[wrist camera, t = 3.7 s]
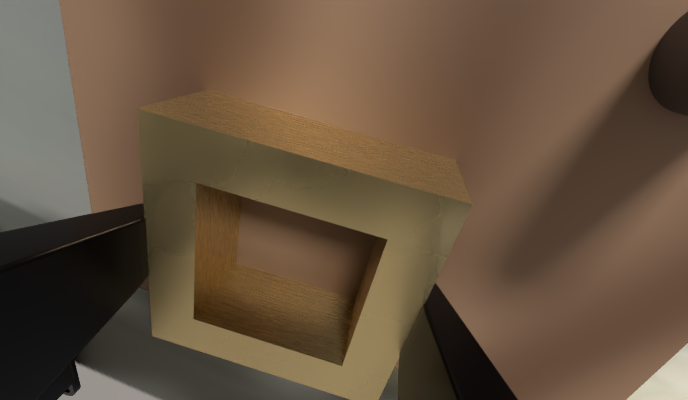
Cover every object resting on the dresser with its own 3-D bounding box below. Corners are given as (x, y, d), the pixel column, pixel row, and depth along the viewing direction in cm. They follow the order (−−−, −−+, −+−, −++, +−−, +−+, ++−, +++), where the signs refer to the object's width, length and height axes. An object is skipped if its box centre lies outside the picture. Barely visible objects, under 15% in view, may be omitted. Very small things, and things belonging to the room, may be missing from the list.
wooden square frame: (200, 279, 11) (151, 336, 9) (206, 90, 8) (136, 108, 6) (381, 335, 11) (375, 407, 9) (455, 160, 8) (472, 204, 6)
